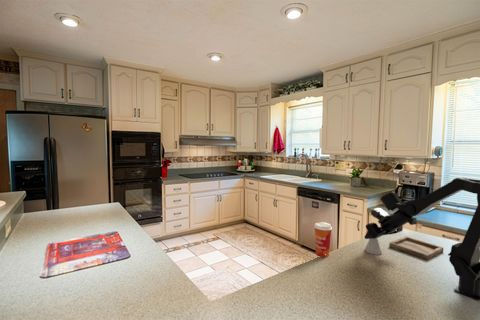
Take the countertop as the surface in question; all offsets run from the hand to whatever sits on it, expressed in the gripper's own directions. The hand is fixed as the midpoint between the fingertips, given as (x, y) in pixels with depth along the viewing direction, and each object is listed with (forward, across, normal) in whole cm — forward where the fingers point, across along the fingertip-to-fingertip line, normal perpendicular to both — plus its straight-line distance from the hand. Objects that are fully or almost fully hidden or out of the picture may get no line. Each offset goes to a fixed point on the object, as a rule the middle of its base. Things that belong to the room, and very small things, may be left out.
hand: (371, 236), depth 115 cm
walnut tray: (-1, -21, +11) cm, 23 cm away
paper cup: (+10, +24, 0) cm, 26 cm away
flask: (+4, 0, +6) cm, 7 cm away
